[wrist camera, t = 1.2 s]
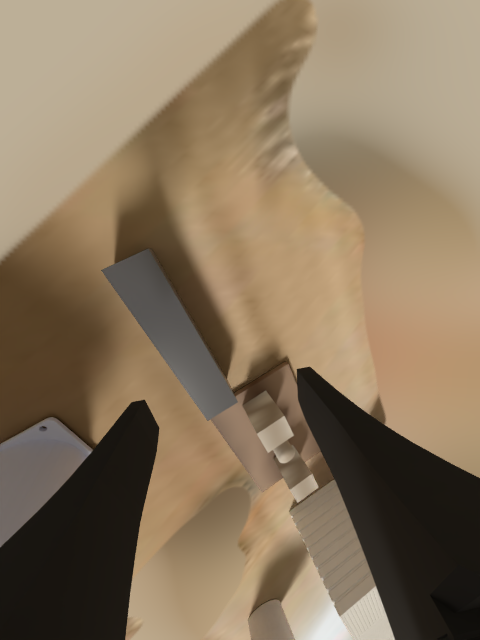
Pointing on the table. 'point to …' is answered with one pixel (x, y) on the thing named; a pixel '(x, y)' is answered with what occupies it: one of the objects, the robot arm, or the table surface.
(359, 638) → the white rectangular block
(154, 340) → the gray rectangular bar
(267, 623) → the coffee cup
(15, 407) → the table surface
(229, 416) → the display stand
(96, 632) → the robot arm
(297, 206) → the table surface
